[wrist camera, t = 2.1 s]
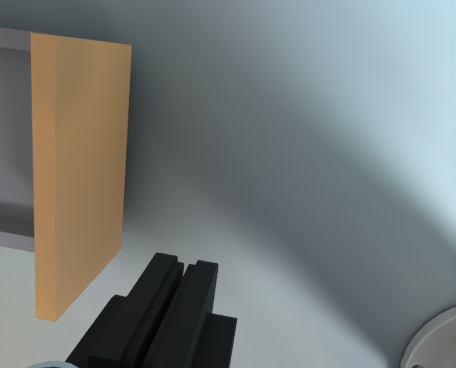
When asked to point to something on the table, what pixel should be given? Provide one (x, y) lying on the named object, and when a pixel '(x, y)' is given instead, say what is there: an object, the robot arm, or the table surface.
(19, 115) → the grey and tan frame
